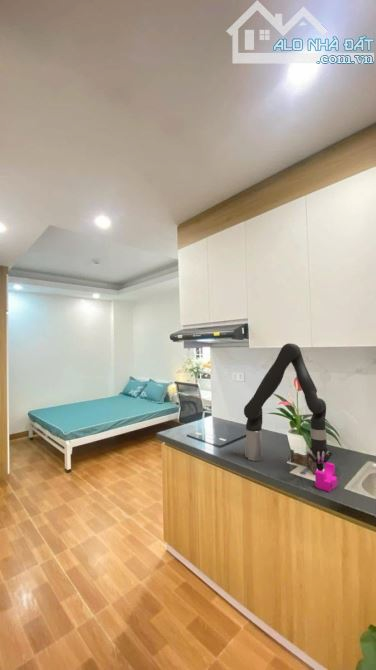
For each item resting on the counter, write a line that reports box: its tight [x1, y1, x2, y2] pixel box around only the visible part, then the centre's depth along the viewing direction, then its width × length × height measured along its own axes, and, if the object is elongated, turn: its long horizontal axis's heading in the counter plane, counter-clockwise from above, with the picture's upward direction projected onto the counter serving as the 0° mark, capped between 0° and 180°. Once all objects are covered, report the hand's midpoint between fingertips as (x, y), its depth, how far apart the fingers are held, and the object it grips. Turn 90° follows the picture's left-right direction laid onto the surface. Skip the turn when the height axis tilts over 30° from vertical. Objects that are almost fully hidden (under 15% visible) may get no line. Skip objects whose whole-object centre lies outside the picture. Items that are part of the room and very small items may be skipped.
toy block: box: [314, 461, 338, 493], centre depth 134 cm, size 15×6×8 cm, turn 134°
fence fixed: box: [290, 449, 310, 467], centre depth 155 cm, size 11×2×7 cm, turn 44°
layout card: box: [286, 459, 325, 483], centre depth 149 cm, size 22×16×1 cm
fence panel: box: [308, 458, 317, 475], centre depth 146 cm, size 9×2×6 cm, turn 174°
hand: (319, 470), depth 145 cm, fingers closed
